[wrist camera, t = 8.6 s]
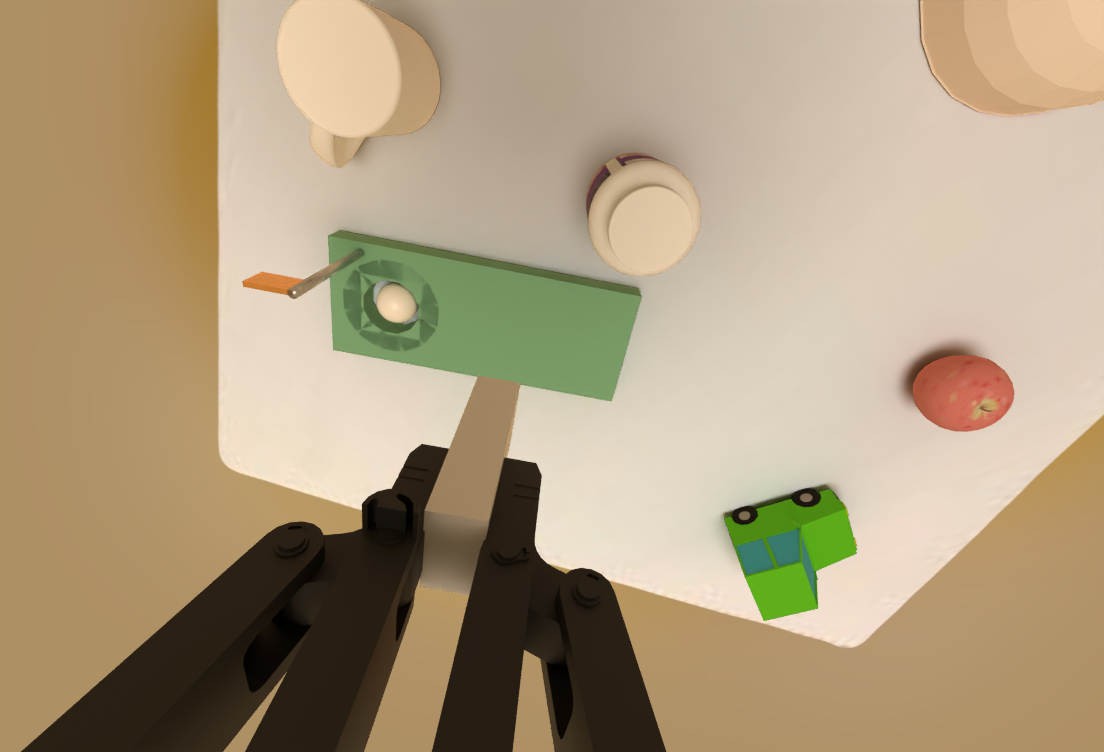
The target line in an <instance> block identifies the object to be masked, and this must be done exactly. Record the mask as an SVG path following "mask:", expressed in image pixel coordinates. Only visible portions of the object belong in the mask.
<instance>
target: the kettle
mask: <svg viewBox="0 0 1104 752" xmlns="http://www.w3.org/2000/svg"><path fill="white" fill-rule="evenodd" d="M920 11H921V37H922V43H923V46H924V49H925V52H926V55H927V58H928V61H929V64H930V67H931V70H932V73H933V74H934V76H935V77H936V78H937V79H938V81H939V82H940V83H941V84H942V86H943V87H944V88H945V89H946V91H947V92H948V93H949V94H950V96H951V97H953V98H955V99H956V100H958V101H960V102H962V103H963V104H965V105H967V106H969V107H970V108H972V109H974V110H976V111H978V112H984V113H990V114H996V115H1002V116H1016V115H1024V114H1032V113H1040V112H1045V111H1048V110H1053V109H1060V108H1068V107H1075V106H1083V105H1090V104H1093V103H1096V102H1099V101H1102V100H1104V0H920Z"/></svg>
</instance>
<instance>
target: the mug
mask: <svg viewBox="0 0 1104 752" xmlns="http://www.w3.org/2000/svg"><path fill="white" fill-rule="evenodd" d="M277 61H278V66H279V71H280V74H281V77H282V80H283V83H284V85H285V88H286V90H287V92H288V94H289V95H290V97H291V99H292V100H293V102H294V103H295V105H296V106H297V107H298V109H299V110H300V111H301V112H302V113H303V115H304V116H306V117H307V118H308V119H309V120H310V121H311V122H312V123H311V128H310V144H311V147H312V149H313V151H314V152H315V154H316V155H317V156H318V157H319V158H320V159H321V160H323V161H324V162H325V163H327V164H329V165H330V166H333V167H336V168H340V167H343V166H345V165H346V164H347V163H348V162H349V161H350V160H351V158H352V157H353V156H354V154H355V153H356V151H357V150H358V148H359V147H360V145H361V144H362V142H363V140H364V139H365V137H374V136H386V135H398V134H407V133H411V132H414V131H416V130H418V129H419V128H421V127H422V126H424V125H425V124H426V123H427V122H428V121H429V119H430V118H431V117H432V115H433V113H434V112H435V109H436V107H437V104H438V101H439V96H440V75H439V70H438V66H437V63H436V60H435V58H434V55H433V53H432V51H431V50H430V48H429V46H428V45H427V43H426V42H425V41H424V39H423V38H422V37H421V36H420V35H419V34H418V33H417V32H416V31H414V30H413V29H412V28H410V27H409V26H407V25H406V24H404V23H402V22H400V21H398V20H396V19H394V18H393V17H391V16H389V15H387V14H385V13H383V12H382V11H380V10H378V9H376V8H374V7H372V6H370V5H369V4H367V3H365V2H363V1H361V0H296V1H295V2H294V3H293V4H292V5H291V6H290V8H289V9H288V10H287V12H286V13H285V15H284V17H283V19H282V22H281V24H280V27H279V32H278V37H277ZM335 135H336V136H337V137H336V138H335ZM334 138H335V139H334Z"/></svg>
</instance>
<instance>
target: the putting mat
mask: <svg viewBox="0 0 1104 752" xmlns="http://www.w3.org/2000/svg"><path fill="white" fill-rule="evenodd" d="M328 244H329V265H331V264H332V263H334V262H336V261H338V260H339V259H341V258H343V257H344V256H346V255H348V254H350V253H351V252H353V251H355V250H357V249H358V248H361V249H363V250H364V253H365V254H364V256H363V257H361V258H360V259H358V260H356V261H355V262H353V263H352V264H350V265H348V266H347V267H345V268H344V269H342V270H341V271H339V272H337V273H336V274H334V275H333V276H331V277H330V289H331V311H332V334H333V350H336V351H342V352H347V353H352V354H358V355H363V356H369V357H374V358H380V359H385V360H390V361H396V362H401V363H407V364H412V365H417V366H423V367H428V368H434V369H439V370H444V371H450V372H455V373H461V374H466V375H472V376H477V377H478V375H479V376H485V377H490V378H496V379H501V380H507V381H512V382H518V383H520V385H526V386H531V387H536V388H542V389H547V390H553V391H558V392H564V393H569V394H574V395H580V396H585V397H591V398H596V399H601V400H607V401H612V398H613V395H614V391H615V388H616V384H617V381H618V377H619V374H620V370H621V367H622V363H623V360H624V356H625V353H626V349H627V346H628V342H629V339H630V335H631V332H632V328H633V325H634V321H635V318H636V314H637V311H638V307H639V304H640V300H641V294H640V291H639V288H634V287H628V286H623V285H618V284H613V283H608V282H603V281H598V280H592V279H587V278H582V277H577V276H572V275H567V274H562V273H557V272H551V271H546V270H541V269H536V268H531V267H526V266H521V265H515V264H510V263H505V262H500V261H495V260H490V259H485V258H479V257H474V256H469V255H464V254H459V253H454V252H449V251H443V250H438V249H433V248H428V247H423V246H418V245H413V244H408V243H402V242H397V241H392V240H387V239H382V238H377V237H372V236H366V235H361V234H356V233H351V232H346V231H341V230H340V231H338V232H335V233H333V234H331V235H329V236H328ZM382 280H387V281H392V282H397V283H400V284H401V285H403V286H404V287H405V288H407V289H408V290H409V291H411V292H412V294H413V296H414V298H415V300H416V302H417V304H418V306H419V310H418V320H417V321H415V322H412V323H409V324H406V325H404V324H399V323H394V322H391V321H388V320H387V319H385V318H384V317H383V316H382V315H381V314H380V313H379V311H378V309H377V307H376V305H375V304H374V302H373V287H374V286H375V284H376V283H377V282H380V281H382Z"/></svg>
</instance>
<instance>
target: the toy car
mask: <svg viewBox="0 0 1104 752" xmlns="http://www.w3.org/2000/svg"><path fill="white" fill-rule="evenodd" d="M756 511H757V512H756ZM756 511H755V510H754V509H753V508H751V507H748V506H746V507H741V508H738V509H736V510H735V511H734V513H733V514H732V517H727V518H724V520H725V523H726V526H727V528H728V531H729V534H730V537H731V540H732V542H733V545H734V548H735V551H736V554H737V556H738V559H739V562H740V565H741V568H742V570H743V573H744V576H745V579H746V581H747V583H748V585H749V588H750V590H751V592H752V595H753V597H754V599H755V601H756V604H757V606H758V608H759V611H760V613H761V615H762V618H763V620H764V621H766V620H771V619H775V618H779V617H784V616H788V615H792V614H796V613H801V612H805V611H809V610H814V609H818V597H817V580H818V579H817V575H816V571H817V570H819V569H822V568H824V567H827V566H829V565H831V564H834V563H836V562H838V561H841V560H843V559H845V558H848V557H850V556H852V555H855V554H857V553H856V550H857V548H856V546H857V544H856V541H855V538H854V537H853V533H852V530H851V526H850V522H849V519H848V516H849V515H848V511H847V508H846V507H845V505H844V504H843V502H841V501H840V499H839V498H838V497H837V495H836V494H835V493H834V491H831V489H828V490H824V491H820V492H819V493H818V492H816V491H815V490H812V489H802V490H799V491H797V492H795V494H794V495H793V501H792V499H789V500H785V501H782V502H779V503H775V504H772V505H768V506H765V507H761V508H758V509H756ZM757 513H758V514H757Z"/></svg>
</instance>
